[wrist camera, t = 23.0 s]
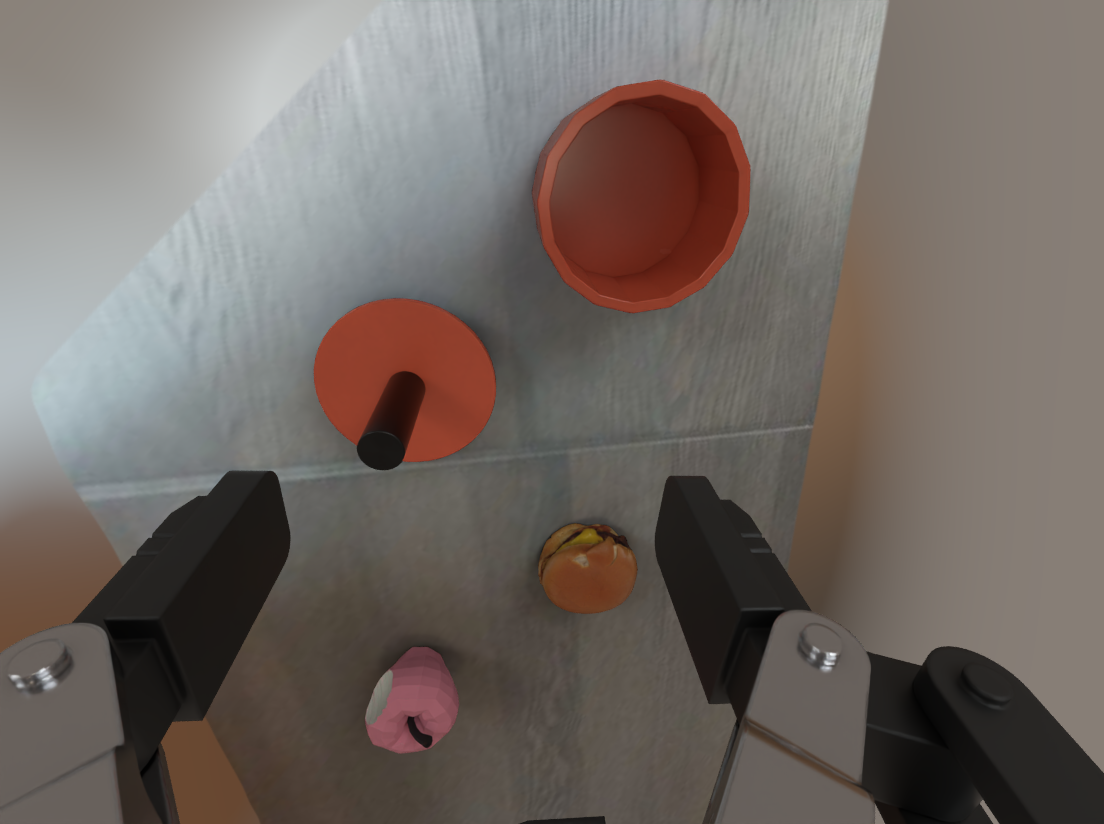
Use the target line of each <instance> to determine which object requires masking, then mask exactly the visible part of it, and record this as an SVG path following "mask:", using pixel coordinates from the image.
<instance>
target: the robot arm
mask: <svg viewBox="0 0 1104 824" xmlns="http://www.w3.org/2000/svg"><path fill="white" fill-rule="evenodd" d="M761 535H762V534H761V532H760V531H759V529H758V528H757V526H756V525H755V523H754V522H753V520H752V518H751V517H750V515H748V514H747V513H746V512H745V511H743V510H742V509H741V508H740V507H738V506H737V505H736V504H735V503H733V502H732V501H731V500H720V499H719V497H718V495H717V494H716V492H715V490H714V489H713V487H712V485H711V484H710V482H709V480H708V479H707V478H706V477H705V476H669V477H668V478H667V480H666V483H665V488H664V492H663V497H662V502H661V507H660V512H659V517H658V521H657V526H656V532H655V551H656V557H657V561H658V564H659V567H660V569H661V572H662V575H663V578H664V581H665V583H666V586H667V589H668V592H669V594H670V597H671V600H672V603H673V606H674V608H675V611H676V614H677V617H678V619H679V622H680V625H681V628H682V631H683V633H684V636H685V639H686V642H687V644H688V647H689V650H690V653H691V656H692V658H693V661H694V664H695V667H696V669H697V672H698V675H699V678H700V681H701V683H702V686H703V689H704V692H705V694H706V697H707V700H708V703H709V704H728V703H731V705H732V707H733V710H734V712H735V715H736V717H737V719H736V722H735V725H734V727H733V730H732V733H731V736H730V740H729V743H728V746H727V749H726V752H725V755H724V758H723V761H722V764H721V767H720V770H719V774H718V777H717V780H716V783H715V786H714V789H713V792H712V795H711V798H710V801H709V804H708V808H707V811H706V814H705V817H704V820H703V823H702V824H875V804H876V806H877V808H878V810H879V812H880V814H881V816H882V818H883V820H884V822H885V824H993V823H992V821H991V820H990V818H989V817H988V815H987V814H986V812H985V811H984V809H983V808H982V806H981V805H980V802H981V801H982V800H984V801H985V803H986V804H987V806H988V807H989V809H990V810H991V812H992V813H993V815H994V816H995V818H996V819H997V821H998V822H999V824H1104V773H1103V772H1102V771H1101V770H1100V768H1099V767H1098V766H1097V765H1096V764H1095V763H1094V762H1093V761H1092V760H1091V759H1090V757H1089V756H1088V755H1087V754H1086V753H1085V752H1084V751H1083V749H1082V748H1081V747H1080V746H1079V745H1078V744H1077V743H1076V742H1075V740H1074V739H1073V738H1072V737H1071V736H1070V735H1069V734H1068V733H1067V732H1066V730H1065V729H1064V728H1063V727H1062V726H1061V725H1060V724H1059V723H1058V722H1057V720H1056V719H1055V718H1054V717H1053V716H1052V715H1051V714H1050V713H1049V711H1048V710H1047V709H1046V708H1045V707H1044V706H1043V705H1042V704H1041V702H1040V701H1039V700H1038V699H1037V698H1036V697H1035V696H1034V695H1033V694H1032V692H1031V691H1030V690H1029V689H1028V688H1027V687H1026V686H1025V685H1024V684H1023V683H1022V682H1021V681H1020V680H1019V679H1018V678H1016V677H1015V676H1014V675H1013V674H1012V673H1010V672H1009V671H1008V670H1006V669H1005V668H1003V667H1002V666H1000V665H999V664H997V663H995V662H994V661H992V660H990V659H988V658H986V657H985V656H982V655H980V654H978V653H975V652H972V651H969V650H967V649H963V648H958V647H950V646H947V647H939V648H936V649H934V650H933V651H932V652H931V653H930V654H929V655H928V657H927V658H926V660H925V662H924V663H923V665H922V666H920V665H916V664H912V663H909V662H904V661H901V660H896V659H892V658H888V657H885V656H881V655H877V654H873V653H870V652H867V651H866V650H865V649H864V647H863V646H862V644H861V643H860V642H859V641H858V640H857V638H856V637H855V636H854V635H853V634H852V633H851V632H850V631H848V630H847V629H846V628H844V627H843V626H842V625H841V624H839V623H837V622H836V621H834V620H832V619H830V618H828V617H826V616H824V615H821V614H819V613H815V612H812V611H811V609H810V608H809V606H808V605H807V603H806V602H805V600H804V599H803V597H802V595H801V594H800V592H799V591H798V589H797V588H796V586H795V585H794V583H793V581H792V580H791V578H790V577H789V575H788V574H787V572H786V571H785V569H784V568H783V566H782V565H781V563H780V561H779V560H778V558H777V557H776V555H775V554H774V553H772V551H771V550H772V549H771V548H770V546H769V545H768V543H767V542H766V540H765V538H762V536H761ZM289 549H290V529H289V524H288V520H287V515H286V511H285V506H284V502H283V497H282V493H281V488H280V484H279V480H278V477H277V475H276V474H275V473H274V472H273V471H229V472H228V473H226V474H225V475H224V476H223V478H222V479H221V480H220V481H219V482H218V484H217V485H216V486H215V487H214V488H213V489H212V491H211V492H210V493H209V494H208V495H207V496H197V497H196V498H194V499H193V500H191V501H190V502H188V503H186V504H185V505H183V506H182V507H180V508H179V509H177V510H175V511H174V512H172V513H171V514H170V515H169V516H168V517H167V518H166V519H165V520H164V522H163V523H162V524H161V525H160V526H159V527H158V528H157V529H156V530H155V532H154V533H153V534H152V538H148V539H147V540H146V542H145V543H144V544H143V545H142V546H141V547H140V548H139V549H138V550H137V554H136V556H132V557H131V558H130V559H129V560H128V561H127V563H126V564H125V565H124V566H123V567H122V568H121V569H120V570H119V571H118V573H117V574H116V575H115V576H114V577H113V578H112V579H111V580H110V581H109V583H108V584H107V585H106V586H105V587H104V588H103V589H102V590H101V591H100V592H99V594H98V595H97V596H96V597H95V598H94V599H93V600H92V601H91V602H90V603H89V605H88V606H87V607H86V608H85V609H84V610H83V611H82V612H81V613H80V615H79V616H78V617H77V618H76V619H75V620H74V621H73V622H72V623H71V624H64V625H59V626H56V627H52V628H49V629H46V630H43V631H40V632H38V633H35V634H33V635H31V636H29V637H26V638H24V639H23V640H21V641H19V642H17V643H15V644H14V645H12V646H10V647H9V648H7V649H5V650H4V651H3V652H1V653H0V824H180V821H179V816H178V812H177V808H176V803H175V798H174V794H173V789H172V784H171V780H170V775H169V770H168V766H167V761H166V757H165V752H164V749H163V747H162V744H161V740H162V739H163V737H164V735H165V734H166V732H167V730H168V728H169V727H170V725H171V723H172V722H175V721H202V720H203V718H204V716H205V715H206V713H207V711H208V709H209V707H210V705H211V703H212V701H213V699H214V697H215V696H216V694H217V692H218V690H219V688H220V686H221V684H222V682H223V680H224V678H225V677H226V675H227V673H228V671H229V669H230V667H231V665H232V663H233V661H234V659H235V658H236V656H237V654H238V652H239V650H240V648H241V646H242V644H243V642H244V640H245V639H246V637H247V635H248V633H249V631H250V629H251V627H252V625H253V623H254V621H255V620H256V618H257V616H258V614H259V612H260V610H261V608H262V606H263V604H264V602H265V601H266V599H267V597H268V595H269V593H270V591H271V589H272V587H273V585H274V583H275V581H276V580H277V578H278V576H279V574H280V572H281V570H282V568H283V566H284V564H285V562H286V560H287V557H288V553H289ZM520 824H605V817H604V816H599V817H582V818H565V819H548V820H531V821H526V822H523V823H520Z"/></svg>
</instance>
